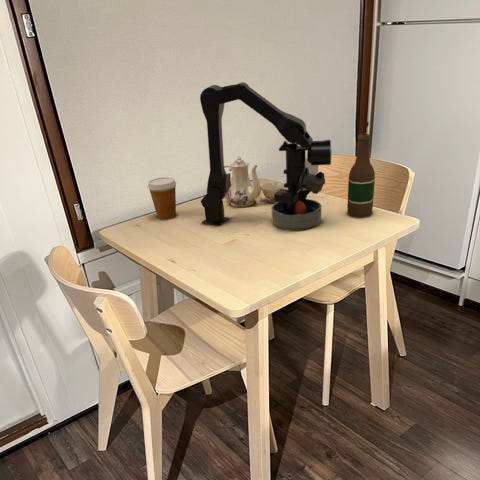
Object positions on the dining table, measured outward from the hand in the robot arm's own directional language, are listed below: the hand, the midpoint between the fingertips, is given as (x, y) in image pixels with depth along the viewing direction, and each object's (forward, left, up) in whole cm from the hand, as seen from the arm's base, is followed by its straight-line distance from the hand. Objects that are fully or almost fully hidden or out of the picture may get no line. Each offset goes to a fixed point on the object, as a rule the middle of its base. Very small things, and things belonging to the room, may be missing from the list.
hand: (296, 216), depth 152 cm
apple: (0, 0, -1) cm, 1 cm away
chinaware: (+14, +25, -2) cm, 29 cm away
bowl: (0, 0, -2) cm, 2 cm away
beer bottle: (+13, -16, -2) cm, 21 cm away
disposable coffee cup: (-9, +44, -2) cm, 45 cm away
